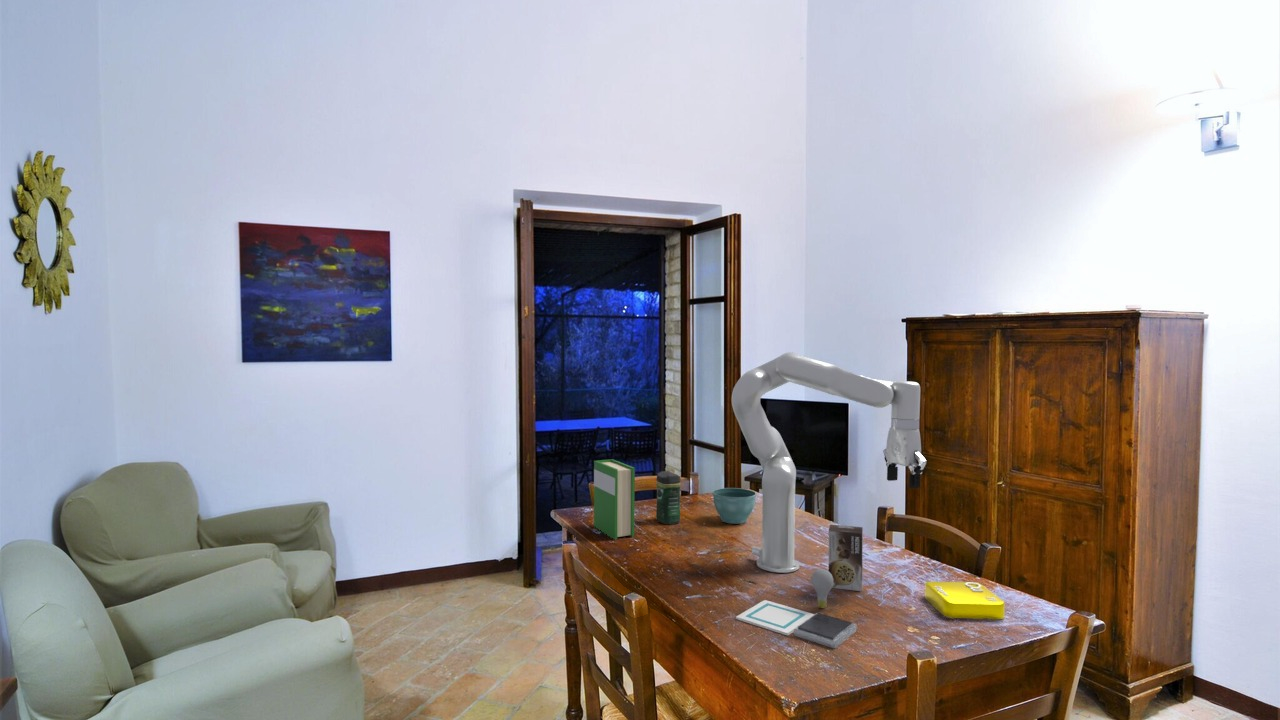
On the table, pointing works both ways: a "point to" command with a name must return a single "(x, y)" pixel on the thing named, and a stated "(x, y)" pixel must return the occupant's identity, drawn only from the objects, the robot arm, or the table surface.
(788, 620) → the marked board
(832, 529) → the coffee box
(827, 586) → the light bulb
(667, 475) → the coffee jar
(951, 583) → the element tile
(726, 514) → the flower pot
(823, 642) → the ink pad
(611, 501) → the hardback book
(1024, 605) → the table surface
